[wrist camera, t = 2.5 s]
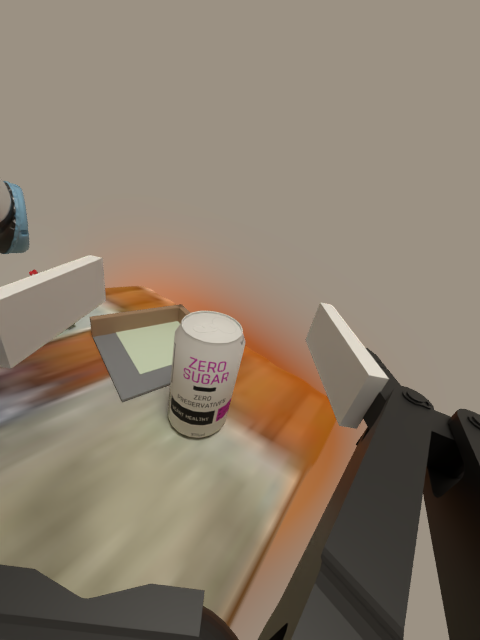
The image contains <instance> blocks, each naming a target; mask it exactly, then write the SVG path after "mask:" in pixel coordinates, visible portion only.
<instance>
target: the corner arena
mask: <svg viewBox="0 0 480 640" xmlns="http://www.w3.org/2000/svg"><path fill="white" fill-rule="evenodd" d="M188 314H190V312H189V311H188V310H187V309H186V308H185V307H184V306H183V305H173V306H166V307H159V308H151V309H144V310H137V311H129V312H122V313H115V314H107V315H100V316H93V317H90V323H91V332H92V337H93V339H94V341H95V343H96V346H97V348H98V350H99V352H100V354H101V357H102V359H103V361H104V363H105V365H106V368H107V370H108V372H109V374H110V376H111V379H112V381H113V383H114V385H115V387H116V390H117V392H118V394H119V396H120V398H121V401H122V402H124V401H127V400H130V399H132V398H135V397H138V396H141V395H143V394H146V393H149V392H152V391H154V390H157V389H160V388H163V387H165V386H168V385H170V383H171V372H172V360H173V348H174V336H175V331H176V329H177V328H178V327H179V325H180V324H181V322H182V320H183V318H184V317H185V316H186V315H188Z"/></svg>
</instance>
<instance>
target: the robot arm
mask: <svg viewBox="0 0 480 640" xmlns="http://www.w3.org/2000/svg"><path fill="white" fill-rule="evenodd" d="M28 249H29V233H28V222H27V214H26V207H25V201H24V196H23V192H22V189H21V188H20V187H19V186H18V185H16V184H12V183H9V182H8V181H2V179H1V178H0V253H2V254H9V253H23V252H26V251H27V250H28ZM104 284H105V283H104V270H103V258H100V257H95V256H90V255H89V256H86V257H83V258H80V259H77V260H74V261H72V262H69V263H66V264H63V265H60V266H58V267H55V268H52V269H49V270H46V271H43V272H41V273H38V274H35V275H32V276H29V277H27V278H24V279H21V280H18V281H15V282H12V283H10V284H7V285H5V286H1V287H0V367H4V368H10V369H11V368H13V367H14V366H15V365H17V364H18V363H20V362H21V361H22V360H24V359H25V358H27V357H28V356H29V355H31V354H32V353H34V352H35V351H36V350H38V349H39V348H41V347H42V346H43V345H45V344H46V343H48V342H49V341H50V340H52V339H53V338H55V337H56V336H57V335H59V334H60V333H62V332H63V331H64V330H66V329H67V328H69V327H70V326H71V325H73V324H74V323H76V322H77V321H78V320H80V319H81V318H83V317H84V316H85V315H87V314H88V313H90V312H91V311H92V310H94V309H95V308H97V307H98V306H99V305H101V304H102V303H104V302H105V301H106V297H105V285H104ZM306 342H307V345H308V347H309V350H310V352H311V355H312V358H313V360H314V363H315V365H316V368H317V370H318V373H319V375H320V378H321V381H322V383H323V386H324V388H325V391H326V393H327V396H328V398H329V401H330V404H331V406H332V409H333V411H334V414H335V416H336V419H337V421H338V424H339V426H344V427H350V428H357V427H358V426H359V424H360V423H361V421H362V420H363V419H364V420H365V422H366V424H367V426H368V427H367V429H366V430H365V432H364V433H363V435H362V436H361V437H360V439H359V440H358V442H357V443H356V445H357V447H356V449H355V451H354V454H353V456H352V457H351V459H350V461H349V463H348V465H347V467H346V469H345V472H344V473H343V475H342V477H341V479H340V482H339V484H338V485H337V487H336V490H335V492H334V493H333V496H332V498H331V499H330V501H329V504H328V505H327V507H326V509H325V512H324V513H323V515H322V517H321V520H320V522H319V524H318V526H317V528H316V530H315V532H314V534H313V536H312V538H311V540H310V542H309V544H308V546H307V548H306V550H305V552H304V554H303V556H302V558H301V560H300V562H299V564H298V566H297V568H296V570H295V572H294V574H293V576H292V578H291V580H290V582H289V584H288V586H287V588H286V590H285V592H284V594H283V596H282V598H281V600H280V601H279V603H278V605H277V607H276V608H275V610H274V612H273V613H272V615H271V617H270V619H269V620H268V622H267V624H266V625H265V627H264V629H263V631H262V633H261V634H260V636H259V638H258V640H403V636H404V625H405V618H406V610H407V602H408V596H409V589H410V582H411V575H412V567H413V560H414V553H415V546H416V539H417V531H418V524H419V516H420V510H421V503H422V495H423V494H424V501H425V506H426V511H427V517H428V523H429V528H430V534H431V539H432V545H433V551H434V556H435V561H436V567H437V572H438V578H439V584H440V589H441V595H442V600H443V606H444V611H445V617H446V622H447V628H448V633H449V639H450V640H480V415H479V414H477V413H475V412H472V411H469V410H466V409H459V410H457V411H456V412H455V414H454V415H453V416H452V417H450V416H447V415H445V414H442V413H440V412H437V411H435V410H434V408H433V405H432V404H431V403H430V402H429V400H427V399H426V398H425V397H424V396H423V395H421V394H420V393H418V392H416V391H414V390H412V389H410V388H408V387H404V386H401V385H400V384H399V383H398V381H397V380H396V379H395V378H394V377H393V375H392V374H391V373H390V371H389V370H388V369H386V367H385V365H384V364H383V363H382V362H381V360H380V359H379V358H378V357H377V355H376V354H374V353H373V352H372V351H370V350H369V349H368V348H365V347H364V346H363V345H362V343H361V342H360V340H359V339H358V338H357V337H356V335H355V334H354V333H353V331H352V330H351V329H350V327H349V326H348V325H347V324H346V323H345V321H344V320H343V318H342V317H341V316H340V314H339V313H338V312H337V311H336V309H335V308H334V307H333V305H330V304H325V303H321V302H320V304H319V307H318V309H317V312H316V314H315V317H314V319H313V322H312V324H311V327H310V330H309V332H308V335H307V337H306ZM204 591H205V590H197V589H189V588H181V587H173V586H165V585H157V584H148V585H144V586H140V587H135V588H131V589H127V590H123V591H119V592H115V593H110V594H106V595H102V596H98V597H94V598H89V599H85V598H81V597H79V596H77V595H75V594H74V593H72V592H71V591H69V590H67V589H66V588H64V587H63V586H61V585H59V584H58V583H56V582H55V581H53V580H51V579H50V578H48V577H47V576H45V575H43V574H42V573H40V572H39V571H37V570H35V569H30V568H22V567H14V566H6V565H0V640H238V638H237V636H236V635H235V634H234V633H233V631H232V630H231V629H230V628H229V627H228V625H227V624H226V623H225V622H224V621H223V620H222V619H221V618H219V617H218V616H217V615H216V614H215V613H214V612H212V611H211V610H209V609H207V608H206V607H204V606H203V599H204Z"/></svg>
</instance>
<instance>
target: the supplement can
mask: <svg viewBox="0 0 480 640" xmlns="http://www.w3.org/2000/svg"><path fill="white" fill-rule="evenodd" d="M242 332H243V329H242V327H241V324H240V323H239V322H237V321H236V320H235V319H234V318H232V317H230V316H228V315H225V314H222V313H219V312H213V311H198V312H193V313H190V314H188V315H186V316H185V317H184V318H183V320H182V322H181V324H180V325H179V327H178V328H177V329H176V331H175V336H174V348H173V360H172V372H171V383H170V395H169V407H168V418H169V420H170V423H171V425H172V426H173V427H174V428H175V429H176V430H177V431H178V432H179V433H181V434H184V435H186V436H188V437H197V438H201V437H205V436H209V435H212V434H214V433H215V432H217V431H218V430H220V428H221V427H222V426H223V424H224V423H225V420H226V416H227V412H228V409H229V405H230V401H231V397H232V393H233V389H234V385H235V382H236V378H237V374H238V370H239V366H240V362H241V358H242V355H243V351H244V346H245V339H244V336H243V333H242Z"/></svg>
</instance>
